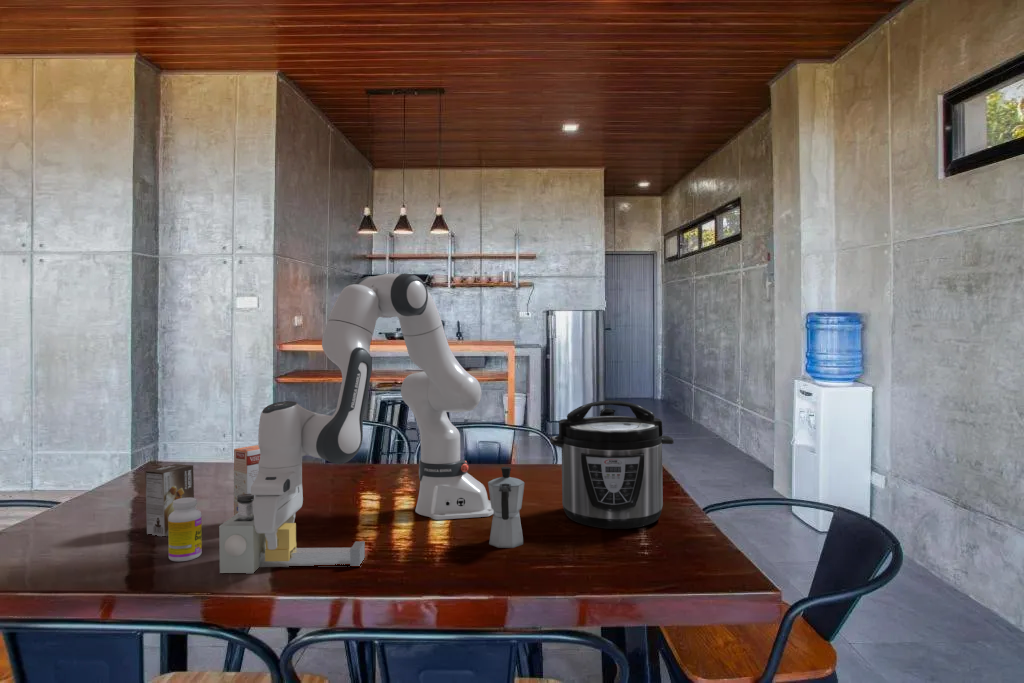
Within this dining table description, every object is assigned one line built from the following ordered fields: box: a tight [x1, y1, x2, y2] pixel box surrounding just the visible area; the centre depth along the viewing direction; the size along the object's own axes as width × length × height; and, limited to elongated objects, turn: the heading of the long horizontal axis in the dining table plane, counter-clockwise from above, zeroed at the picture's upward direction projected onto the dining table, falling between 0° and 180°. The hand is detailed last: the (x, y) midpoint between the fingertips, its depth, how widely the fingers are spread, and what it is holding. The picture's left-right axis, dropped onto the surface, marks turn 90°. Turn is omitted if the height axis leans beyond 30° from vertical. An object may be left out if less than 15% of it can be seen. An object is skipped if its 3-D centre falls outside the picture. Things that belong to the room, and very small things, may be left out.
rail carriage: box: [265, 522, 297, 561], centre depth 135 cm, size 5×5×7 cm
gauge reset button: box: [237, 494, 254, 521], centre depth 135 cm, size 3×3×7 cm
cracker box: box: [233, 444, 260, 516], centre depth 163 cm, size 14×6×21 cm, turn 148°
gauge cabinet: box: [218, 513, 266, 574], centre depth 135 cm, size 7×11×10 cm, turn 1°
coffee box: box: [145, 463, 195, 537], centre depth 158 cm, size 9×6×16 cm
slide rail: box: [260, 540, 366, 568], centre depth 136 cm, size 22×5×4 cm, turn 91°
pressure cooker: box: [549, 400, 674, 530], centre depth 169 cm, size 30×28×32 cm
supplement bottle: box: [167, 497, 203, 562], centre depth 140 cm, size 7×7×13 cm
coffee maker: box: [487, 466, 525, 549], centre depth 148 cm, size 15×9×18 cm, turn 178°
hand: (281, 540), depth 135 cm, fingers open, 8 cm apart
